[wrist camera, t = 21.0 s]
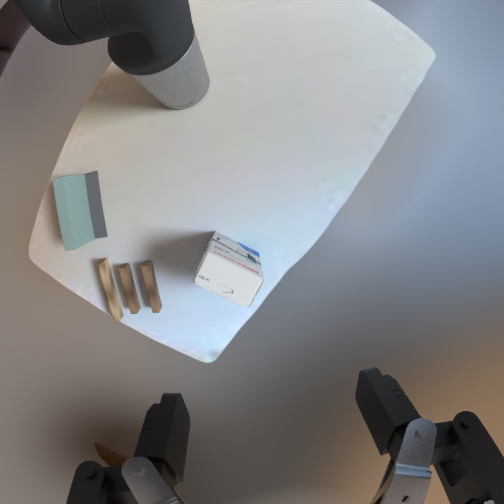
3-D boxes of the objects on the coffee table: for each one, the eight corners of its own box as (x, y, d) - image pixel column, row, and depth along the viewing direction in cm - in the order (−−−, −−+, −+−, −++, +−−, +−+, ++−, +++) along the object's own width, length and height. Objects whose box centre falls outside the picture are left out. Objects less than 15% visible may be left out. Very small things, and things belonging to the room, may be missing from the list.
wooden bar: (101, 258, 45) (93, 264, 42) (108, 257, 45) (100, 263, 42) (117, 315, 49) (111, 323, 45) (123, 314, 49) (118, 323, 46)
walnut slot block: (123, 263, 46) (118, 268, 43) (151, 260, 46) (147, 265, 43) (135, 307, 48) (131, 314, 46) (162, 306, 48) (158, 312, 46)
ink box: (260, 252, 47) (267, 278, 35) (246, 277, 48) (249, 309, 36) (214, 230, 45) (207, 249, 34) (201, 255, 46) (190, 282, 35)
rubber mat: (64, 180, 40) (63, 180, 40) (97, 171, 41) (96, 171, 40) (74, 241, 44) (73, 242, 44) (107, 236, 44) (106, 236, 44)
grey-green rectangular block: (52, 179, 34) (65, 250, 37) (63, 176, 34) (75, 249, 37) (74, 177, 40) (84, 240, 44) (84, 174, 40) (94, 238, 44)
